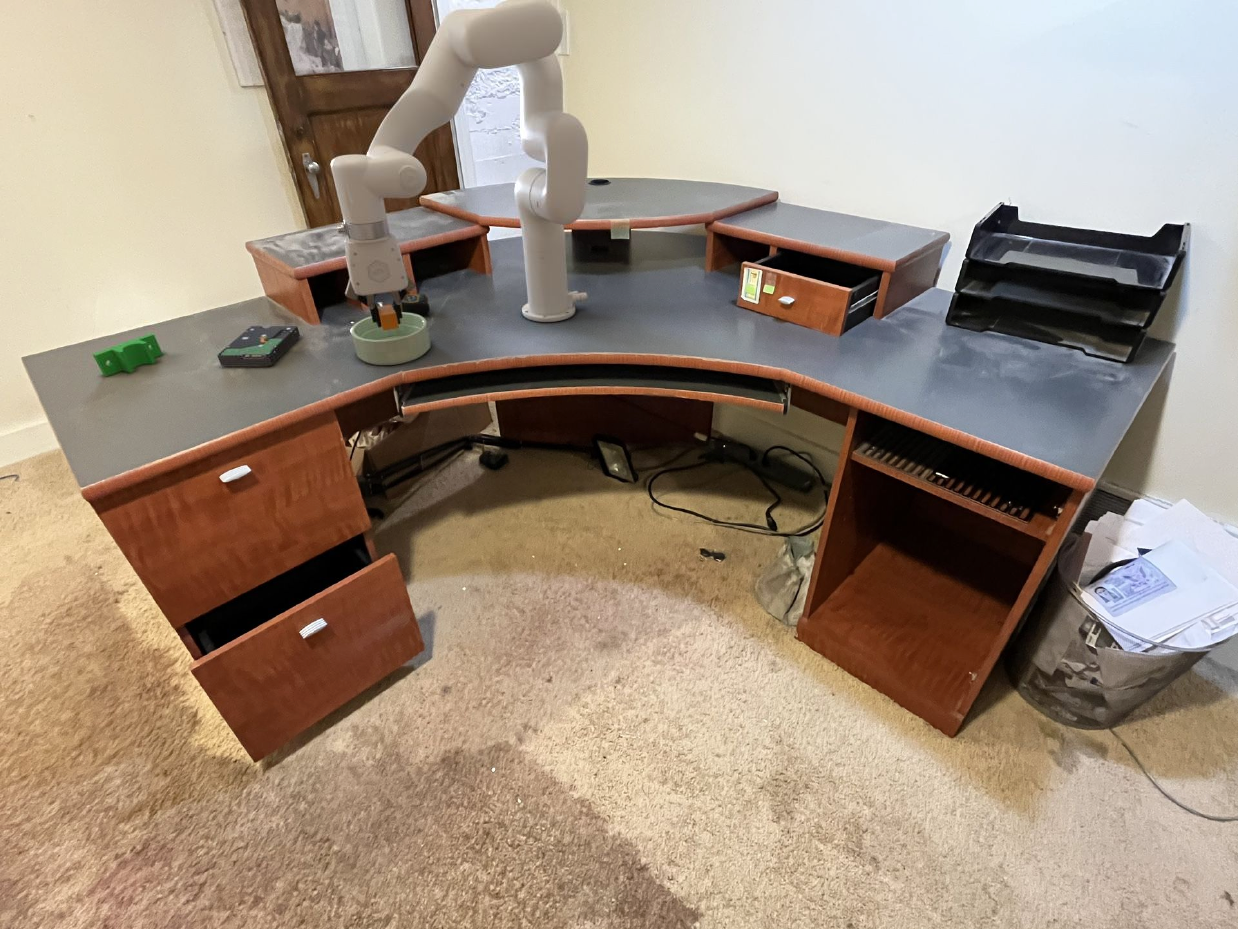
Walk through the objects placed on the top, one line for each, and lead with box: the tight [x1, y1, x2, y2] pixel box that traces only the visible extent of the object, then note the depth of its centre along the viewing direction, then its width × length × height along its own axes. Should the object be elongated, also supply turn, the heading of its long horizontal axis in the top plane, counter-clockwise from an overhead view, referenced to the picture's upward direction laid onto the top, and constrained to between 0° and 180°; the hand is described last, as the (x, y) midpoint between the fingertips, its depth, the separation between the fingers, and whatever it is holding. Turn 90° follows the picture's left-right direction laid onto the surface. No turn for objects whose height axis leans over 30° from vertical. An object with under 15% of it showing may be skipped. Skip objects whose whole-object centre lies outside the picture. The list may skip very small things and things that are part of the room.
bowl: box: [349, 312, 432, 366], centre depth 130 cm, size 15×15×6 cm
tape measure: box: [400, 293, 430, 316], centre depth 147 cm, size 7×7×4 cm
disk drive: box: [217, 325, 301, 367], centre depth 130 cm, size 10×3×15 cm
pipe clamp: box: [92, 333, 164, 377], centre depth 124 cm, size 11×4×5 cm, turn 153°
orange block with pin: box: [377, 301, 399, 331], centre depth 126 cm, size 12×3×3 cm, turn 27°
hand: (388, 322), depth 125 cm, fingers closed on orange block with pin, 3 cm apart
